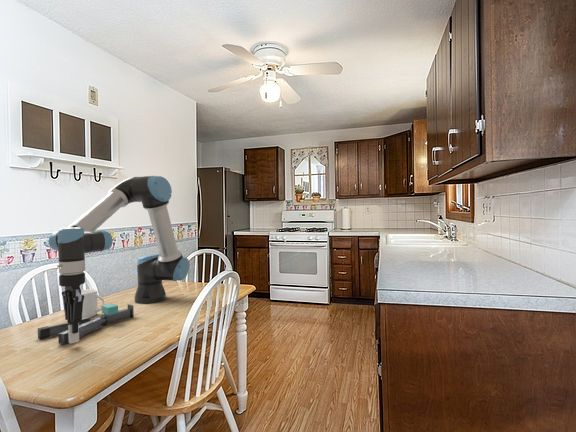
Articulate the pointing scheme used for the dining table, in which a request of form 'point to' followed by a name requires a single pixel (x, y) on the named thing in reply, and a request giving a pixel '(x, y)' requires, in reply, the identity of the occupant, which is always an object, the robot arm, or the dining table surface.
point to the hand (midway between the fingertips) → (74, 341)
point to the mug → (90, 303)
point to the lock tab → (109, 309)
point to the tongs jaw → (81, 330)
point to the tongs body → (106, 319)
